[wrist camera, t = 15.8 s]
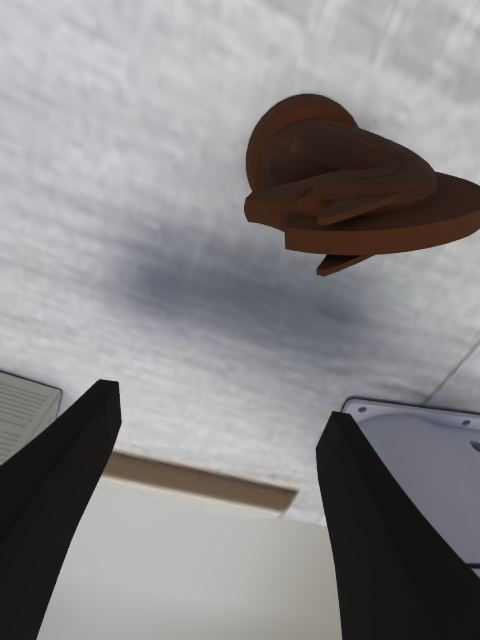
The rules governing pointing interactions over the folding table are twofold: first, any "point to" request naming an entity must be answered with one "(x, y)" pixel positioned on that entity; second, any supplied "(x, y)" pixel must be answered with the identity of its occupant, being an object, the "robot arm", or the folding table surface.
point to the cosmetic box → (24, 412)
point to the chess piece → (349, 187)
